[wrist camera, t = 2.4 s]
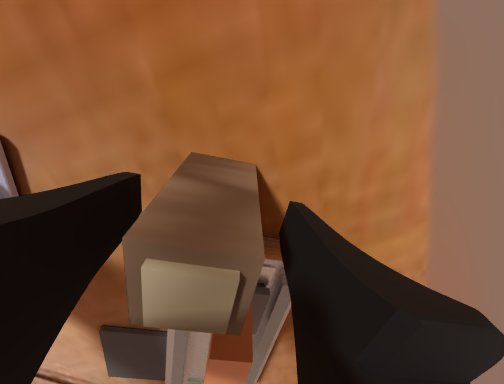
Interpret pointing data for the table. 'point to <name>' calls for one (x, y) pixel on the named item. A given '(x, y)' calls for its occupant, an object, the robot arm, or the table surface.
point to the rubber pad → (134, 352)
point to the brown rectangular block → (197, 249)
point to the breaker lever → (235, 346)
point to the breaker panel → (197, 343)
